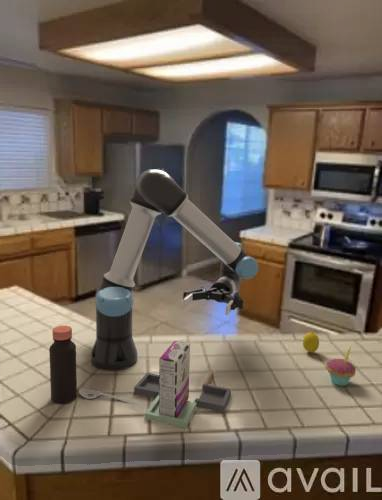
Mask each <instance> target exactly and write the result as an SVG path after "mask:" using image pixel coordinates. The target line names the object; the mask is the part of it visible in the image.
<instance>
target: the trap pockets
mask: <svg viewBox="0 0 382 500" xmlns="http://www.w3.org/2000/svg"><path fill="white" fill-rule="evenodd" d="M202 385H203V384H202ZM133 394H134V395H138V396H143V397H147V398H153V399H156V397H157V396H158V394H159V374H156V373H151V372H146V373H145V374H144V375H143V376H142V377H141V378H140V380H139V381H138V382H137V384H136V385H135V386H133ZM231 396H232V388H227V387H223V386H217V385H213V384H209V385H208V384H204V385H203V390H202V392H201V394H200V395H199V397H198V398H194V399H195V402H197V407H196V408H199V409H202V410H203V409H204V410H209V411H212V412H213V411H214V412H218V413H223V414H224V413H225V411H226V408H227V406H228V405H229V404H228V403H229V401H230V399H231Z"/></svg>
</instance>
